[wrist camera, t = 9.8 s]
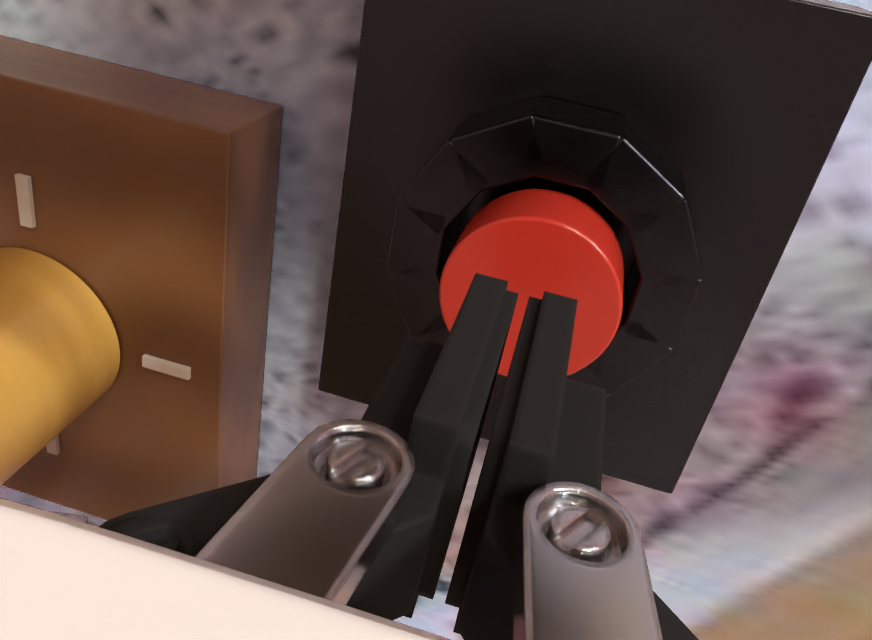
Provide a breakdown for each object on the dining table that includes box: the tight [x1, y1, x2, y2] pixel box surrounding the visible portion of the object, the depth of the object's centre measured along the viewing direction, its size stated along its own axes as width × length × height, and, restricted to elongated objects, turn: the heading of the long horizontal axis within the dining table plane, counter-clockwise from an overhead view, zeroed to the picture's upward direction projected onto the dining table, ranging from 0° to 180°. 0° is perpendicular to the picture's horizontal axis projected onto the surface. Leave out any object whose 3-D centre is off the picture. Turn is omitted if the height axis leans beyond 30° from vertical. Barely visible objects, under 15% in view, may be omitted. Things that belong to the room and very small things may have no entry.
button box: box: [319, 0, 872, 494], centre depth 17 cm, size 12×10×4 cm
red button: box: [439, 189, 624, 377], centre depth 15 cm, size 4×4×2 cm
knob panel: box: [0, 35, 283, 520], centre depth 22 cm, size 14×11×3 cm
